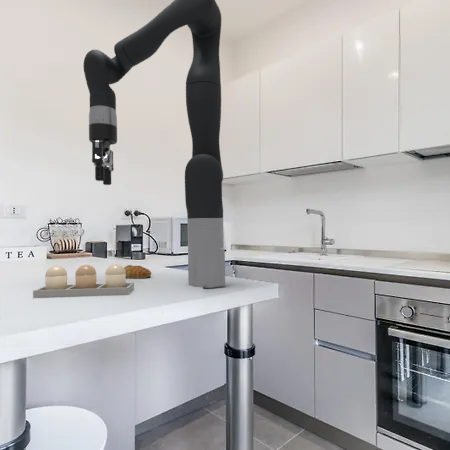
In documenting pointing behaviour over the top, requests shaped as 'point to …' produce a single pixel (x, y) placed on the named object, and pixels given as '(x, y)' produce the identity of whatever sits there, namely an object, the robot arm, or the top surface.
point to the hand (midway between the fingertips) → (103, 182)
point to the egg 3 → (115, 276)
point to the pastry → (136, 272)
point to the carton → (83, 291)
